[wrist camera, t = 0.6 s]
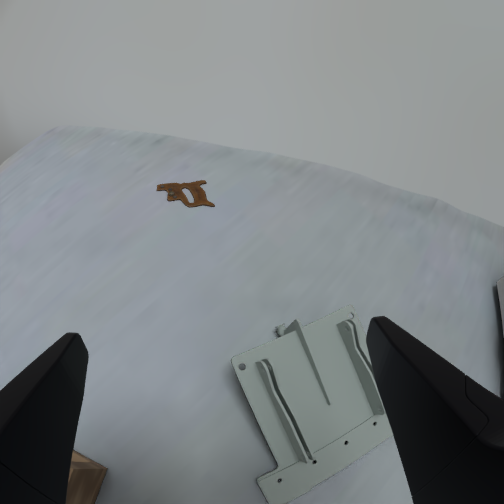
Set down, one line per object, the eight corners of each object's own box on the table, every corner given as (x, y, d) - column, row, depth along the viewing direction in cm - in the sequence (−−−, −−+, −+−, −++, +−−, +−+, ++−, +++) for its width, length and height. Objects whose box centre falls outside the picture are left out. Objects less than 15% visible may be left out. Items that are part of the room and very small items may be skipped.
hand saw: (15, 233, 30) (13, 229, 29) (24, 205, 33) (22, 201, 32) (215, 211, 35) (215, 207, 35) (210, 183, 38) (210, 179, 37)
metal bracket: (201, 356, 20) (376, 280, 25) (194, 359, 25) (342, 297, 30) (285, 527, 16) (433, 426, 22) (262, 501, 22) (394, 422, 27)
